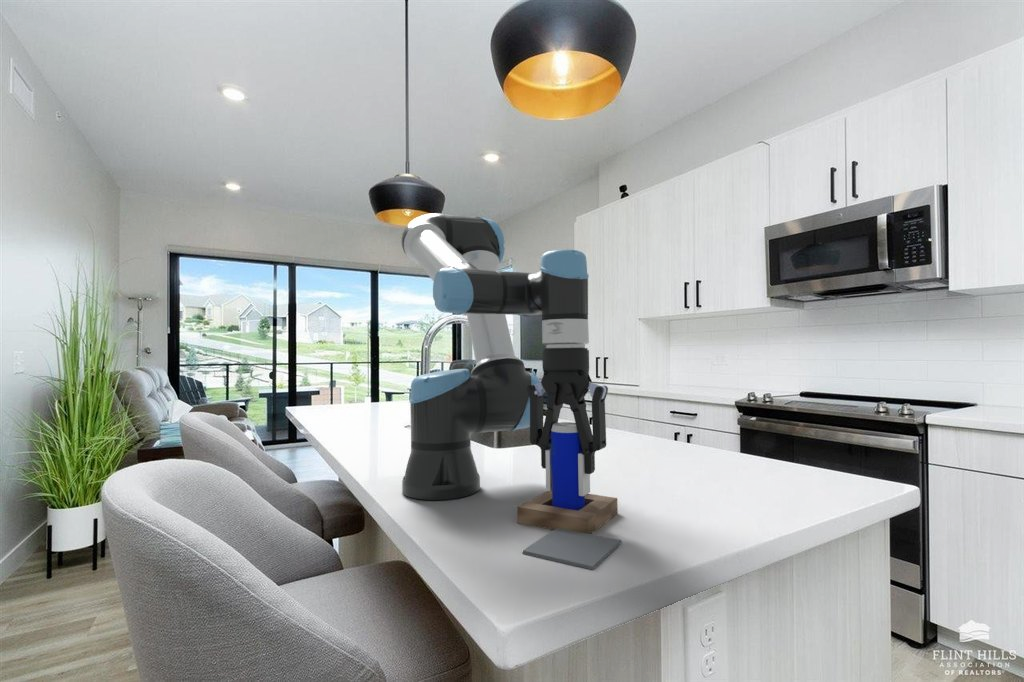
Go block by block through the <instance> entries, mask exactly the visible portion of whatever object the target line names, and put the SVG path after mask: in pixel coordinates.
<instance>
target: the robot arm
mask: <svg viewBox="0 0 1024 682" xmlns="http://www.w3.org/2000/svg"><path fill="white" fill-rule="evenodd" d="M504 237H505V236H504V233H503V230H502V229H501V227H500V225H499V224H498V223H497V222H496V221H495V220H493V219H489V218H484V217H482V216H481V217H480V216H476V217H475V216H474V217H472V216H463V215H462V216H461V215H456V214H455V215H454V214H447V213H446V214H444V213H439V212H434V213H433V212H431V213H426V214H422V215H420V216H417V217H415V218H413V219H412V220H411V221H410V222H409V223H408V224H407V225H406V226H405V228H404V229H403V232H402V234H401V241H400V242H401V247H402V249H403V253H404V254H405V255H406V257H407V258H408V259H409V260H410V262H411V263H413V264H415V265H417V266H420V267H421V268H422V269H423V270H424V272H425V273H426V274H427V275H428V277H429V278H430V279H431V281H432V282H433V283H432V284H433V285H432V298H433V301H434V306H435V307H436V309H437V310H438V311H439V312H440V313H447V314H455V315H466V317H467V323H468V329H469V334H470V338H471V339H470V340H471V345H472V348H473V355H474V359H475V364H476V365H475V366H474V367H473V368H472V369H471V371H470V369H468V368H456V369H447V370H440V371H435V372H430V373H425V374H421V375H418V376H416V377H414V378H413V379H412V381H411V384H410V394H409V395H410V396H409V397H410V398H409V403H410V454H409V458H408V461H407V464H406V469H405V473H404V476H403V477H402V481H401V482H402V485H401V489H402V490H401V492H402V494H403V496H406V497H409V498H412V499H416V500H427V501H441V500H442V501H444V500H453V499H459V498H460V499H461V498H465V497H467V496H470V495H473V494H476V493H477V492H478V491H480V489H481V476H480V473H479V471H478V469H477V465H476V462H475V458H474V455H473V453H472V446H471V443H472V442H471V436H472V434H477V433H491V432H503V431H505V432H506V431H511V432H514V431H517V430H521V429H528V428H529V441H530V444H531V445H535V446H537V447H539V448H540V461H541V463H540V464H541V468H542V469H545V492H547V491H552V452H551V429H552V426H553V424H554V423H559V419H560V413H561V410H562V408H563V406H564V405H567V406H569V408H570V411H571V412H572V414H573V419H574V423H576V427H577V431H578V434H579V438H580V442H581V446H582V450H583V451H581V453H579V454H578V481H579V496H585V495H586V494H591V474H593V473H595V470H596V457H595V455H596V452H597V451H600V450H603V449H605V448H606V447H607V429H606V428H607V427H606V426H607V424H606V421H607V420H606V398H607V394H608V391H609V387H608V386H607V385H599V384H597V383H595V382H593V380H592V379H591V376H590V350H589V349H588V348H587V347H586V345H588V344H589V343H590V337H589V336H590V335H589V332H590V331H589V316H588V315H589V273H588V265H587V261H588V260H587V256H586V254H585V253H584V252H582V251H581V250H578V249H577V250H576V249H554V250H549V251H545V252H544V253H543V254H542V255H541V258H540V266H539V271H536V272H522V271H521V272H519V271H502V270H498V269H499V267H500V264H501V263H502V262H503V259H504V255H505V246H504V245H505V238H504ZM507 315H515V316H516V315H517V316H521V317H525V318H526V317H531V318H534V317H537V316H540V315H541V336H542V337H541V339H542V340H541V341H542V345H544V346H545V348H543V350H542V356H541V359H542V360H541V361H542V371H543V376H542V378H541V380H540V379H539V377H538V376H537V375H536V374H535V373H532V372H527V371H526V366H525V363H524V361H523V360H522V359H521V358H519V357H517V356H516V355H515V350H514V346H513V343H512V338H511V333H510V330H509V325H508V320H507V317H506V316H507ZM588 392H590V393H589V394H590V397H591V421H592V422H591V423H592V424H590V420H589V415H588V412H587V402H586V399H585V397H586V395H587V394H588ZM545 393H546V394H547V396H548V397H547V398H548V399H547V403H546V408H547V410H546V414H545V419H544V396H543V395H544V394H545ZM591 425H592V427H591Z"/></svg>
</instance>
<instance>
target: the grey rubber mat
mask: <svg viewBox="0 0 1024 682" xmlns="http://www.w3.org/2000/svg"><path fill="white" fill-rule="evenodd" d="M621 544H622V539H617V538H613V537H608V536H604V535H603V536H602V535H597V534H594V533H592V534H587V533H582V532H577V531H572V530H567V529H561V528H556V529H554V530H553V529H552V530H551V531H550V532H549V533H547V534H545V535H543V536H542V537H541V538H539V539H538V540H536V541H534V542H533V543H531V544H530V545H528V546H526V547H525V548H524V549H523V550H522V554H523V555H528V556H531V557H536V558H540V559H541V558H542V559H545V560H549V561H554V562H557V563H558V562H559V563H561V564H562V563H563V564H566V565H571V566H575V567H580V568H584V569H588V570H594V569H595V568H596V567H598V566H599V564H601V563H602V562H603V561H604V560H605V559H606V558H607V557H609V555H611V553H613V552H614V551H615V549H617V547H619V546H620V545H621Z"/></svg>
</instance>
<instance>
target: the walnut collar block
mask: <svg viewBox="0 0 1024 682" xmlns="http://www.w3.org/2000/svg"><path fill="white" fill-rule="evenodd" d="M584 497H585V507H583V508H582V509H580V510H578V511H577V510H571V509H565V508H559V507H553V506H552V491H544V492H543V493H541V494H539V495H537V496H535V497H533V498H531V499H529V500H527V501H525V502H523V503H521V504H520V505H517V506H516V517H517V518H516V520H517V521H516V523H518V524H524V525H527V526H534V527H538V528H544V529H549V530H552V531H553V530H554V529H556V528H561V529H567V530H572V531H577V532H582V533H587V534H594V532H596V531H597V530H599V529H600V528H601V527H602V526H604V525H605V524H606V523H608V522H609V521H610V520H611V519H613V517H615V516H617V514H618V513H619V511H618V506H619V505H618V497H614V496H613V497H612V496H606V495H599V494H592V493H588V494H586V495H585V496H584Z"/></svg>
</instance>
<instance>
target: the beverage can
mask: <svg viewBox="0 0 1024 682" xmlns="http://www.w3.org/2000/svg"><path fill="white" fill-rule="evenodd" d="M581 451H583V450H582V446H581V442H580V438H579V434H578V431H577V427H576V423H575V422H570V421H564V422H558V423H554V424H553V426H552V429H551V452H552V506H553V507H559V508H565V509H571V510H577V511H578V510H580V509H582V508H583V507H585V497H584V496H579V481H578V454H579V453H581Z"/></svg>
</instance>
